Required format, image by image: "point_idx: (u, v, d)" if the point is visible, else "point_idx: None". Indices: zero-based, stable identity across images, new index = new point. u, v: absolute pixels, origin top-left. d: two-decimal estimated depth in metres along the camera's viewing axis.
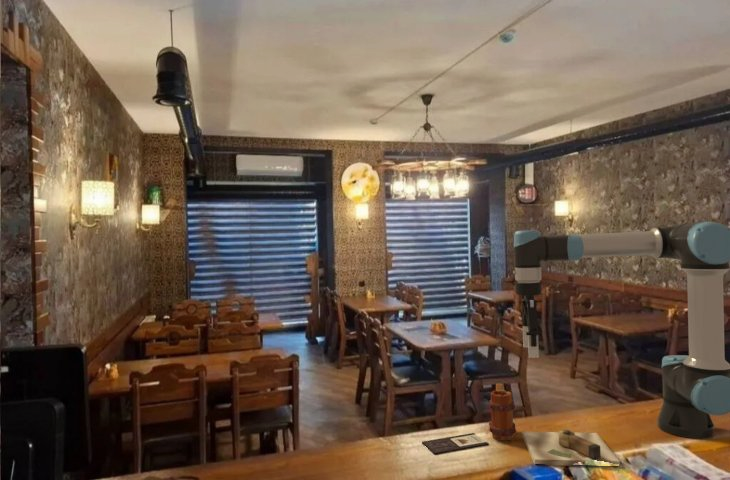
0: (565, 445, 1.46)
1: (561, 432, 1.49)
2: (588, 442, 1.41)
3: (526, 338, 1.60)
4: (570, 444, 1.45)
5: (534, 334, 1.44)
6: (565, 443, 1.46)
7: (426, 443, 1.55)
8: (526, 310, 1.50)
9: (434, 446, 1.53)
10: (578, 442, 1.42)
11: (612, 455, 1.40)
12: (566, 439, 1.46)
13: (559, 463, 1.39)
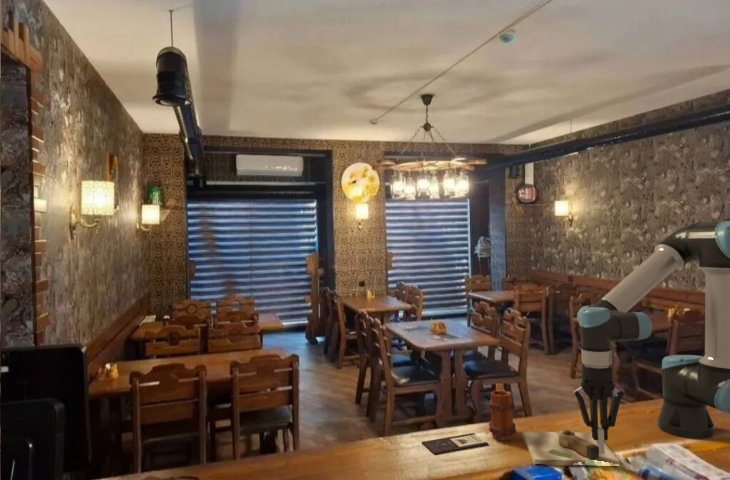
0: (564, 445, 1.46)
1: (561, 432, 1.49)
2: (587, 442, 1.41)
3: None
4: (570, 444, 1.45)
5: None
6: (565, 443, 1.46)
7: (426, 443, 1.55)
8: (589, 397, 1.40)
9: (434, 446, 1.53)
10: (577, 442, 1.42)
11: (612, 455, 1.40)
12: (565, 439, 1.46)
13: (559, 463, 1.39)
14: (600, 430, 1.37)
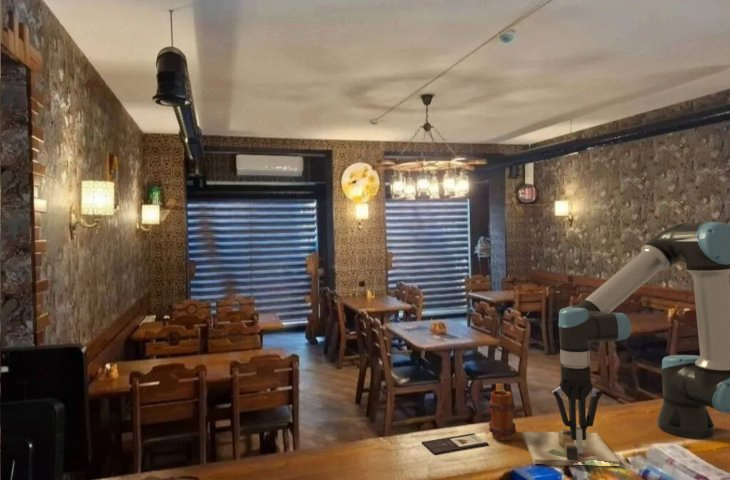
0: (560, 444, 1.47)
1: (562, 431, 1.49)
2: (571, 443, 1.40)
3: None
4: (563, 443, 1.45)
5: None
6: (561, 442, 1.47)
7: (426, 443, 1.55)
8: (568, 397, 1.41)
9: (434, 446, 1.53)
10: (564, 442, 1.43)
11: (612, 455, 1.40)
12: (561, 438, 1.47)
13: (559, 463, 1.39)
14: (578, 430, 1.38)
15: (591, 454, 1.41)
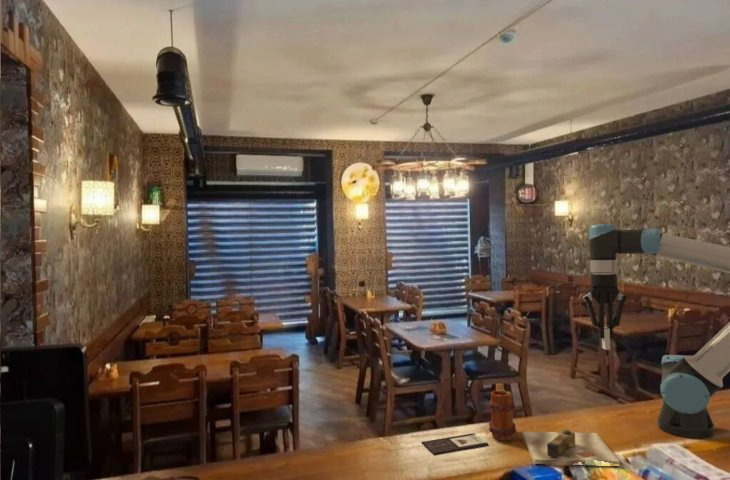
0: None
1: None
2: (557, 442, 1.42)
3: None
4: None
5: (596, 326, 1.60)
6: None
7: (426, 443, 1.55)
8: (597, 302, 1.61)
9: (434, 446, 1.53)
10: None
11: (612, 455, 1.40)
12: None
13: (559, 463, 1.39)
14: (606, 329, 1.58)
15: (591, 454, 1.41)
